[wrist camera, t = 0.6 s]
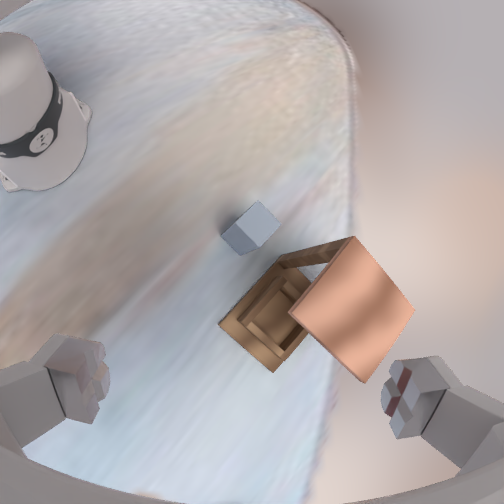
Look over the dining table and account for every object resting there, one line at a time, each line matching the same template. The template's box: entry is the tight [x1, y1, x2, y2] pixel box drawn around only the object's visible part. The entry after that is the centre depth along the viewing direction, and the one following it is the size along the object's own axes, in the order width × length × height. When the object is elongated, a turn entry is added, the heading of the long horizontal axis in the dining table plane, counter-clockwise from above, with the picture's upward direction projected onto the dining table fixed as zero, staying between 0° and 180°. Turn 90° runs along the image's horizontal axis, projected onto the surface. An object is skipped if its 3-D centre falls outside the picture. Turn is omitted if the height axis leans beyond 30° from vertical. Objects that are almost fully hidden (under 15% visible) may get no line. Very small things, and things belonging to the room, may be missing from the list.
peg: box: [221, 200, 281, 255], centre depth 42 cm, size 4×4×10 cm
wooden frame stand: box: [218, 236, 415, 383], centre depth 37 cm, size 11×14×20 cm
